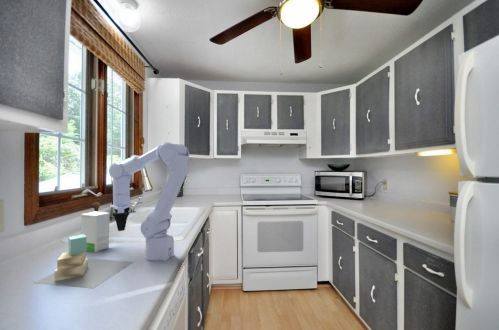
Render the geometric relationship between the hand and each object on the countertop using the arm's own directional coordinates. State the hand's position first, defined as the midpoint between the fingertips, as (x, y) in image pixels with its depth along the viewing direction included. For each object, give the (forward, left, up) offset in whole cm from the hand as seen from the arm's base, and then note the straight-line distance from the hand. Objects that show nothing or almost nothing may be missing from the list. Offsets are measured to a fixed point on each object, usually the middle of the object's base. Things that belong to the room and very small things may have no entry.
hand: (121, 228), depth 87 cm
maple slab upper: (+3, +18, -6) cm, 19 cm away
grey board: (-1, +16, -10) cm, 19 cm away
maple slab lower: (+3, +18, -9) cm, 21 cm away
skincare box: (+14, -2, -11) cm, 18 cm away
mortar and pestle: (+24, -13, -11) cm, 29 cm away
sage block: (+3, +16, -3) cm, 17 cm away
